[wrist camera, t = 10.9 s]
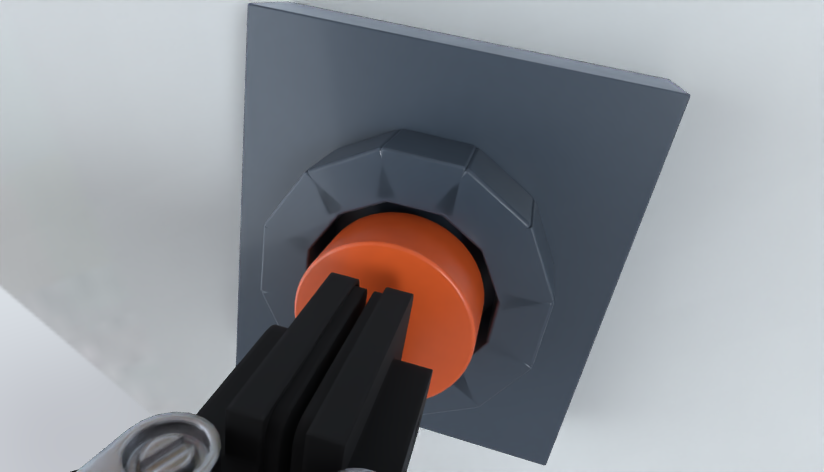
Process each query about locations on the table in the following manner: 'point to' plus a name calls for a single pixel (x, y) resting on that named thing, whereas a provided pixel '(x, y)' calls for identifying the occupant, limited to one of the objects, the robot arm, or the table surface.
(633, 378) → the table surface
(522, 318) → the button block
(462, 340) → the button
